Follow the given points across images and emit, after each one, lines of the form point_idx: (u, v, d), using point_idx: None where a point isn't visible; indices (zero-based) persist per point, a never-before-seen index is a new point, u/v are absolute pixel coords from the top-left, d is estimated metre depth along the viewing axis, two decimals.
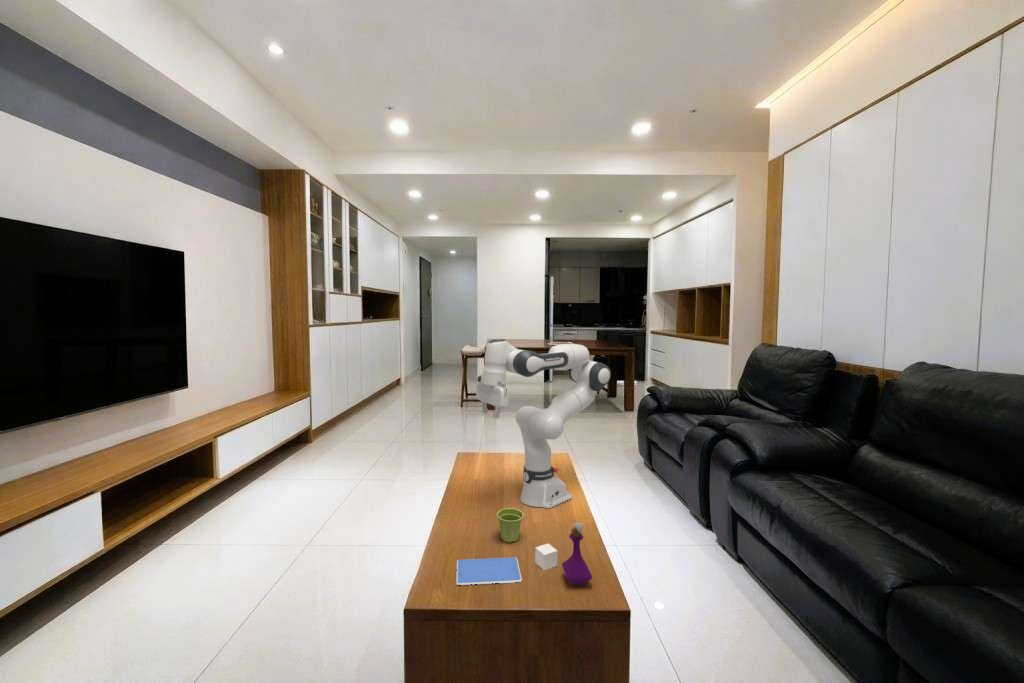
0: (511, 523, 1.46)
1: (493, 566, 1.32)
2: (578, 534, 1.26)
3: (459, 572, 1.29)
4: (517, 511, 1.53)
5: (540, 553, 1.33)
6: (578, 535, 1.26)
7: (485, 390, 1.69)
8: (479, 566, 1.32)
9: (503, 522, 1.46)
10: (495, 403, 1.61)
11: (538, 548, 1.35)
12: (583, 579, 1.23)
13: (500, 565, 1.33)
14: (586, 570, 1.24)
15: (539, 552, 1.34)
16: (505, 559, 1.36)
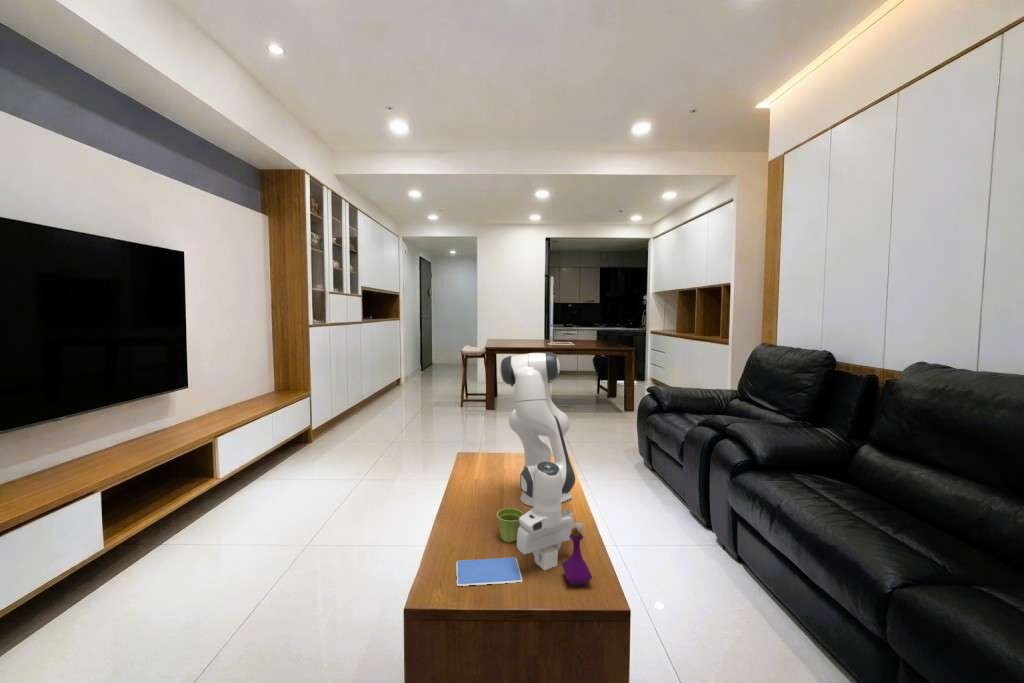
0: (511, 523, 1.46)
1: (493, 567, 1.32)
2: (578, 534, 1.26)
3: (459, 573, 1.28)
4: (517, 511, 1.53)
5: (540, 552, 1.33)
6: (578, 535, 1.26)
7: (541, 534, 1.31)
8: (479, 567, 1.32)
9: (503, 522, 1.46)
10: (566, 537, 1.36)
11: None
12: (583, 579, 1.23)
13: (500, 565, 1.33)
14: (586, 570, 1.24)
15: (539, 552, 1.34)
16: (505, 559, 1.36)
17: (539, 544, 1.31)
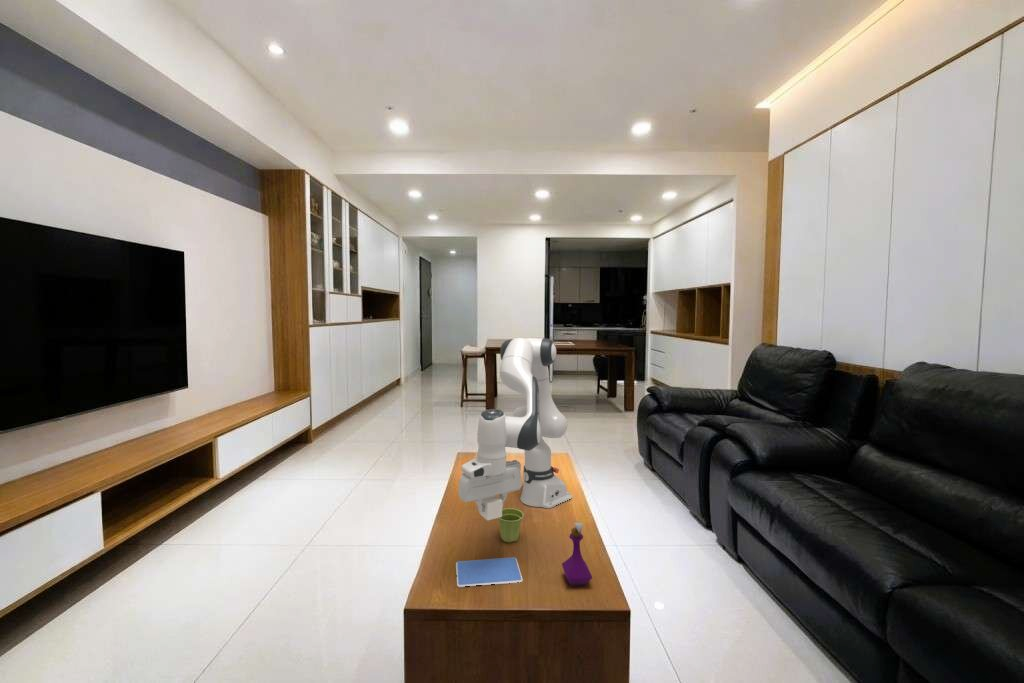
0: (511, 523, 1.46)
1: (493, 567, 1.32)
2: (578, 534, 1.26)
3: (459, 574, 1.28)
4: (517, 511, 1.53)
5: (484, 502, 1.28)
6: (578, 535, 1.26)
7: (484, 482, 1.26)
8: (479, 567, 1.32)
9: (503, 522, 1.46)
10: (512, 487, 1.31)
11: (482, 498, 1.30)
12: (583, 579, 1.23)
13: (500, 565, 1.33)
14: (586, 570, 1.24)
15: (483, 502, 1.28)
16: (504, 559, 1.36)
17: (482, 492, 1.26)
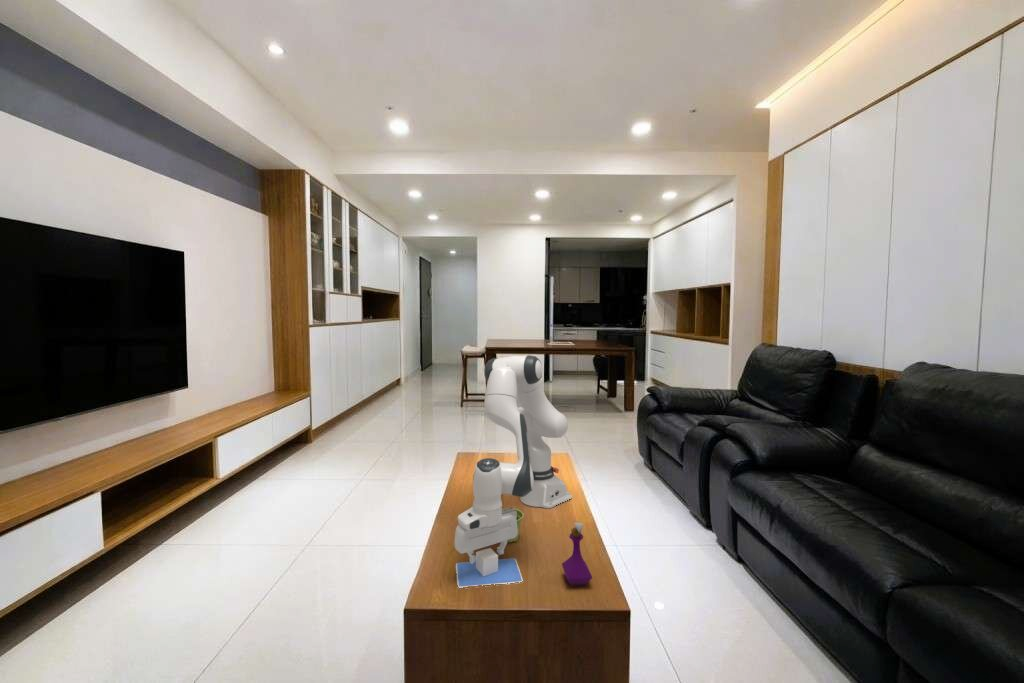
0: None
1: None
2: (578, 534, 1.26)
3: (459, 575, 1.28)
4: (517, 511, 1.53)
5: (480, 558, 1.29)
6: (578, 535, 1.26)
7: (480, 533, 1.27)
8: None
9: None
10: (508, 536, 1.32)
11: (478, 553, 1.31)
12: (583, 579, 1.23)
13: (500, 566, 1.33)
14: (586, 570, 1.24)
15: (479, 557, 1.29)
16: (504, 560, 1.36)
17: (478, 543, 1.27)
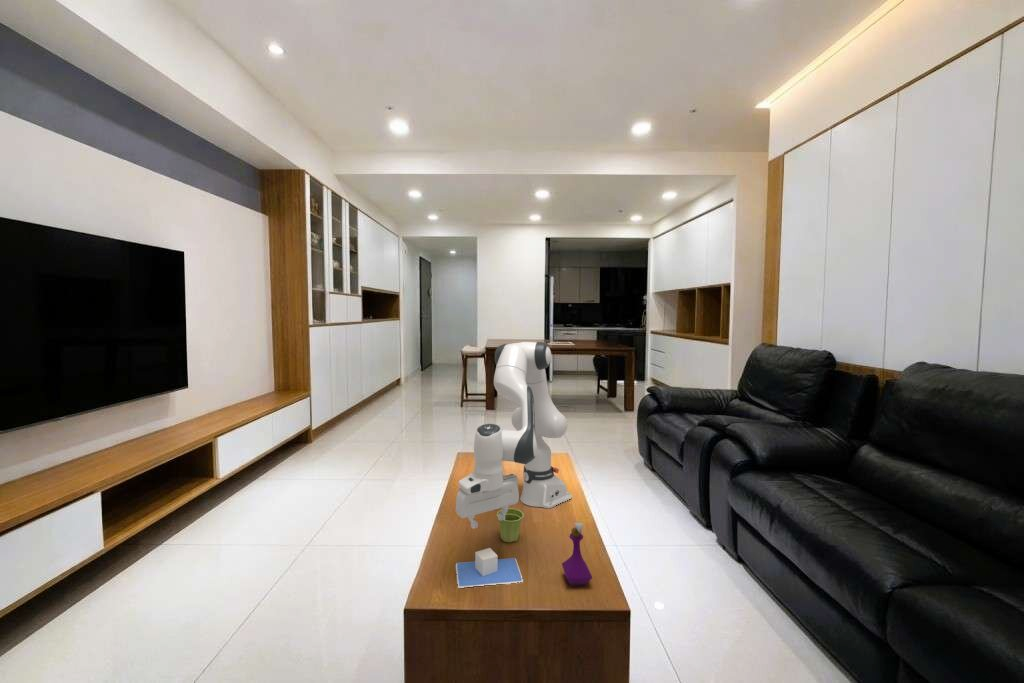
0: (511, 523, 1.46)
1: None
2: (578, 534, 1.26)
3: (459, 575, 1.28)
4: (517, 511, 1.53)
5: (479, 558, 1.29)
6: (578, 535, 1.26)
7: (481, 498, 1.26)
8: None
9: (503, 522, 1.46)
10: (509, 501, 1.31)
11: (478, 553, 1.31)
12: (583, 579, 1.23)
13: (500, 566, 1.33)
14: (586, 570, 1.24)
15: (478, 557, 1.29)
16: (504, 560, 1.36)
17: (479, 508, 1.26)
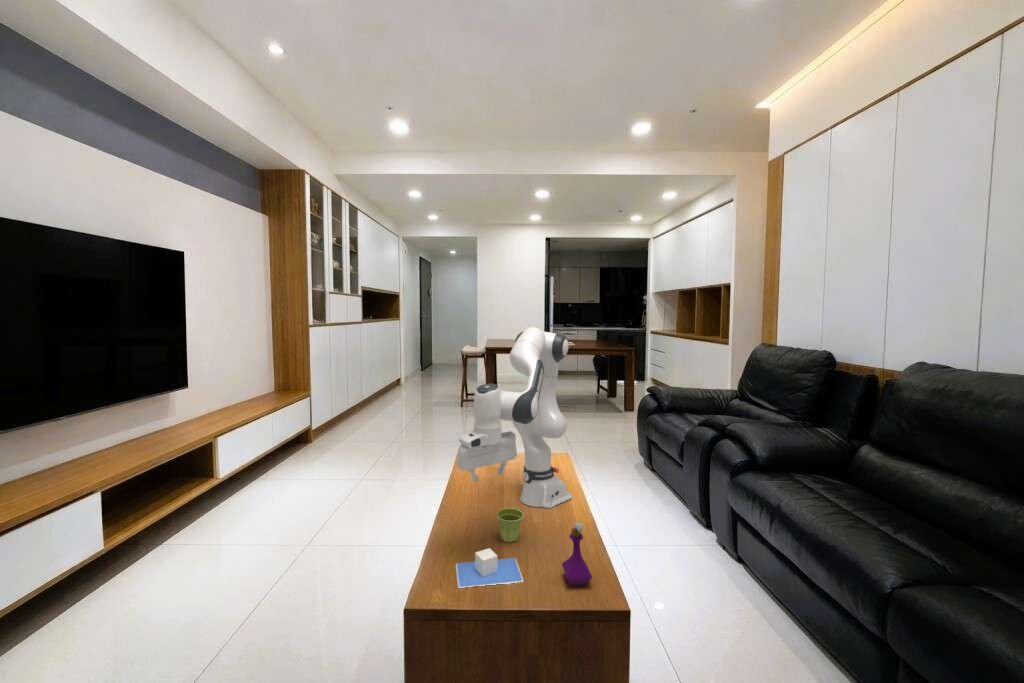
0: (511, 523, 1.46)
1: None
2: (578, 534, 1.26)
3: (460, 576, 1.27)
4: (517, 511, 1.53)
5: (479, 558, 1.29)
6: (578, 535, 1.26)
7: (481, 452, 1.34)
8: None
9: (503, 522, 1.46)
10: (507, 457, 1.39)
11: (478, 553, 1.30)
12: (583, 579, 1.23)
13: (500, 566, 1.33)
14: (586, 570, 1.24)
15: (478, 557, 1.29)
16: (504, 560, 1.36)
17: (479, 462, 1.34)
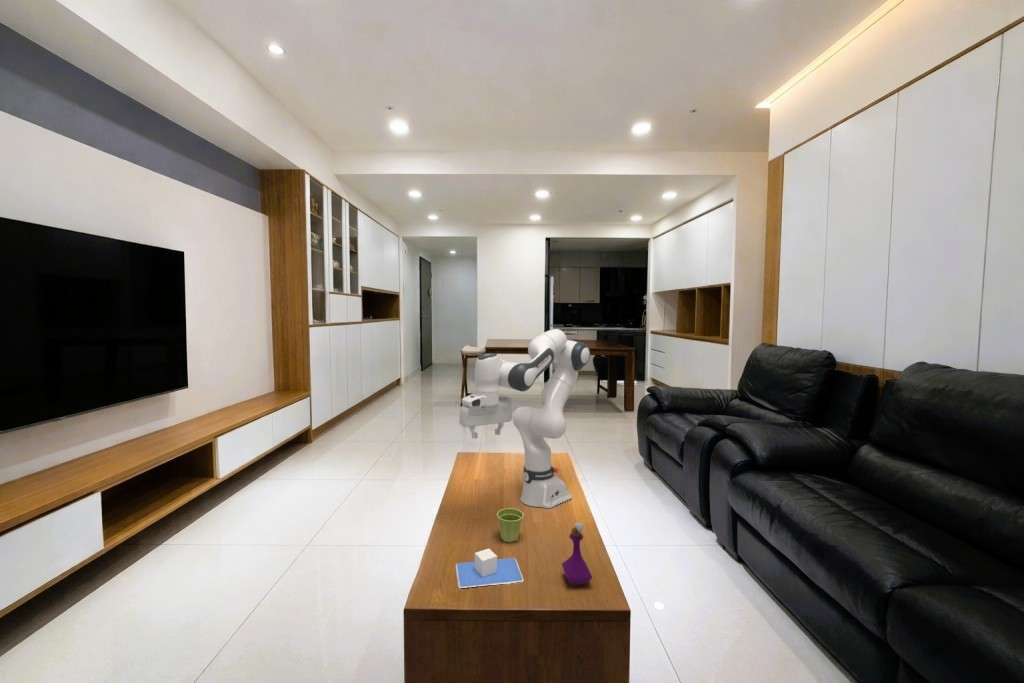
0: (511, 523, 1.46)
1: None
2: (578, 534, 1.26)
3: (460, 576, 1.27)
4: (517, 511, 1.53)
5: (479, 558, 1.28)
6: (578, 535, 1.26)
7: (480, 412, 1.52)
8: None
9: (503, 522, 1.46)
10: (504, 419, 1.57)
11: (477, 553, 1.30)
12: (583, 579, 1.23)
13: (500, 566, 1.33)
14: (586, 570, 1.24)
15: (478, 558, 1.29)
16: (504, 560, 1.36)
17: (478, 420, 1.51)
